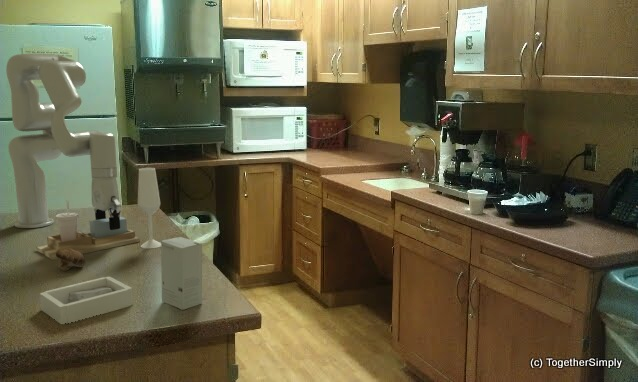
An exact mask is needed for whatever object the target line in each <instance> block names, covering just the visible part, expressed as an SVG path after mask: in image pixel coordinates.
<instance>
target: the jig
mask: <svg viewBox="0 0 638 382" xmlns="http://www.w3.org/2000/svg"><path fill="white" fill-rule="evenodd" d="M46 242H47V244H44V245H39V246H36V252H38V253H41V254H42V255H44V256H46V257H47V258H49V259H51V260H53V261H54V260H59V259H58V258H57V257H56V252H57V251H58V250H60V249H62V248H70V249H73V250H76V251H78V252H80V253H81V254H83V255H84V254H89V253H93V252H98V251H102V250H107V249H112V248H116V247H121V246H126V245H130V244H136V243H139V242H141V240H140V237H138V236H136V231H134V230H132V229H129V228H127V233H122V234H117V235H112V236H107V237H101V238H94V237H92V236H91V233H90V232H87V233H84V232H81V231H80V230H77V236H76V239H72V240H67V241H62V240H61V236H60V233H59V234H54V235H48V236H46Z"/></svg>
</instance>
